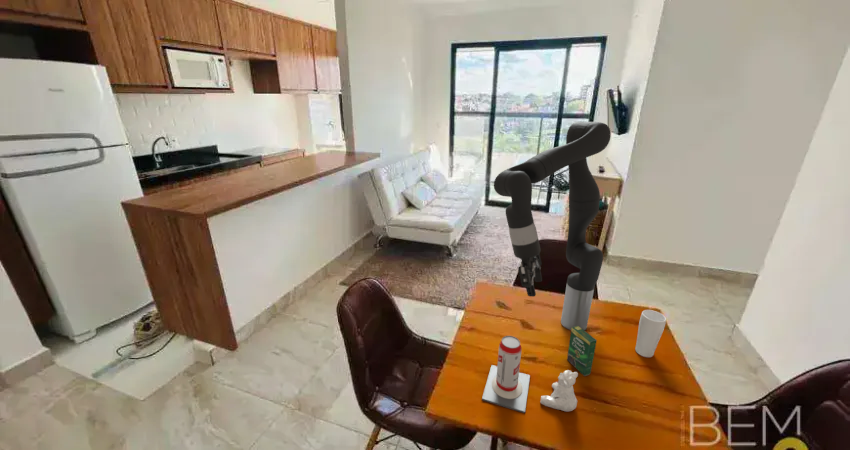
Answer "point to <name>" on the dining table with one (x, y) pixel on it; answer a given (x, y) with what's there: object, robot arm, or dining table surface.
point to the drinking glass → (649, 332)
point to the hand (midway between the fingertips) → (535, 288)
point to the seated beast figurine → (562, 393)
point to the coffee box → (581, 350)
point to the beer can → (508, 363)
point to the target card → (504, 398)
